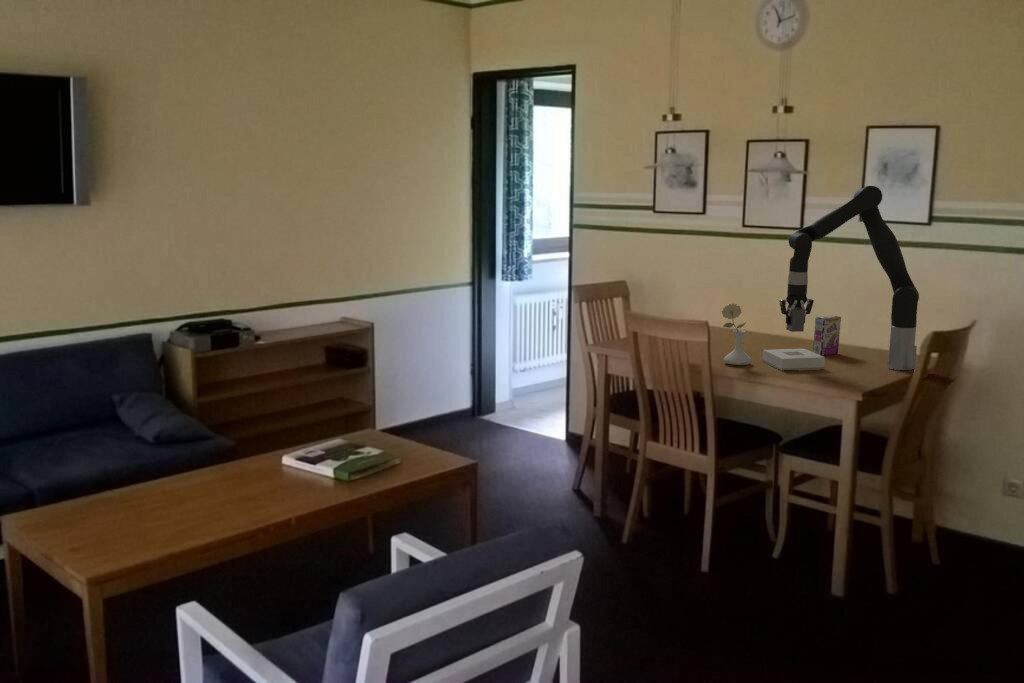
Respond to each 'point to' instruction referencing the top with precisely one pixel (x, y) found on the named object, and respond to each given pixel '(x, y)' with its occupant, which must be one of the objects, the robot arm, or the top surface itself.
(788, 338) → the top surface
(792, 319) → the plug
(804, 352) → the socket
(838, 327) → the candy bar box
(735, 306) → the flower in vase
